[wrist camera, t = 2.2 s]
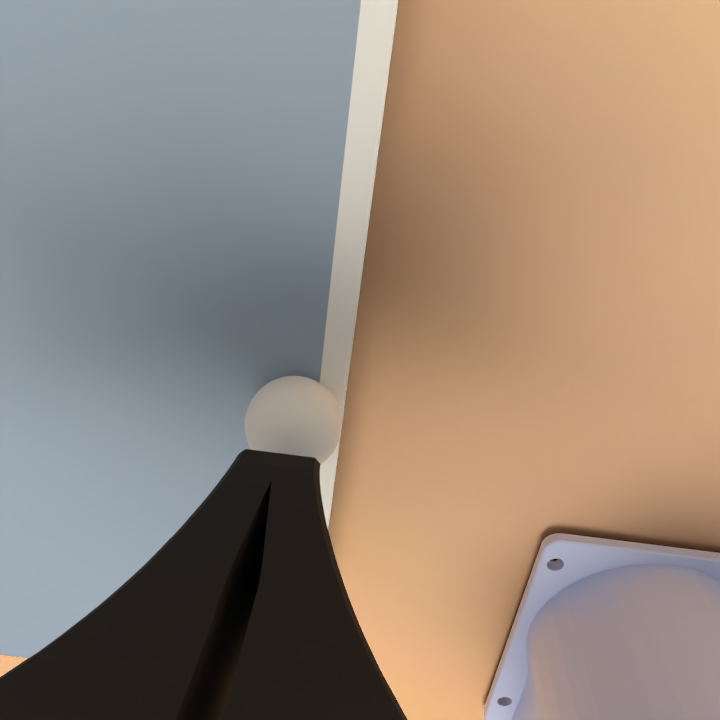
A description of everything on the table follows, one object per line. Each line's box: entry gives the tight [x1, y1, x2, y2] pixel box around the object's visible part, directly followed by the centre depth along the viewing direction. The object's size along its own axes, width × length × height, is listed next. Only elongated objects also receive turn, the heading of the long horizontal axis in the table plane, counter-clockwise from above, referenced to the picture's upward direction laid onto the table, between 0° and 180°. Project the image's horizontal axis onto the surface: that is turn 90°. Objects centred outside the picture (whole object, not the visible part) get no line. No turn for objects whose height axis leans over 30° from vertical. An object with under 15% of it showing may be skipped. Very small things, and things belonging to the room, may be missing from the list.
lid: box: [0, 0, 398, 658], centre depth 14 cm, size 20×14×3 cm
